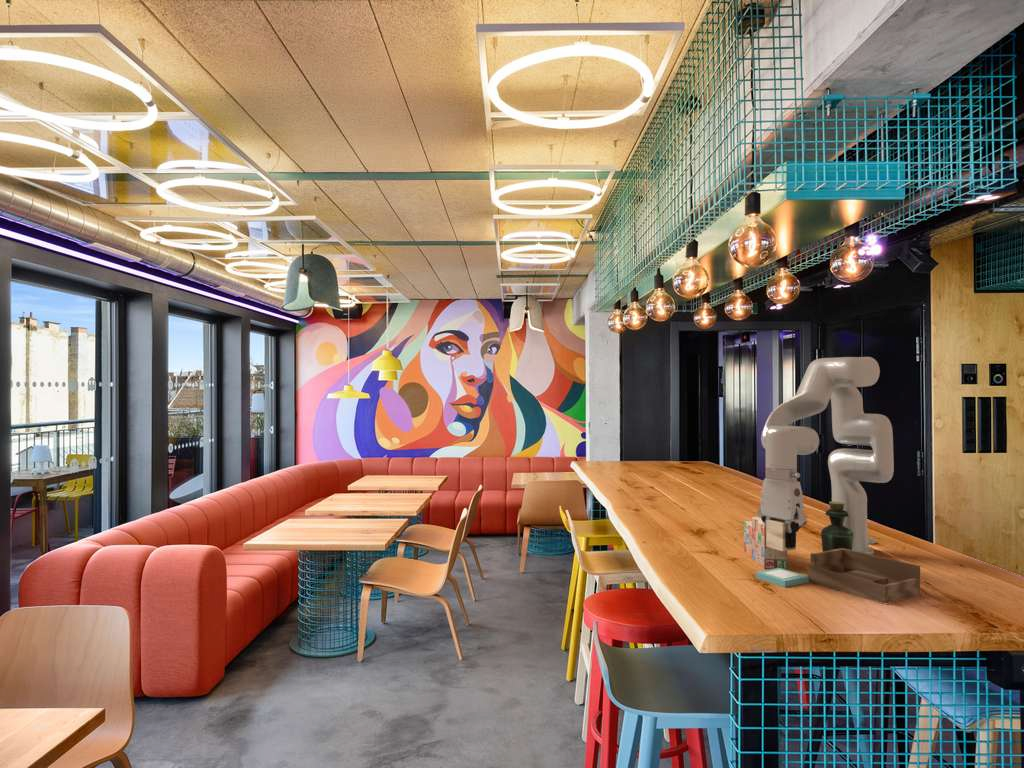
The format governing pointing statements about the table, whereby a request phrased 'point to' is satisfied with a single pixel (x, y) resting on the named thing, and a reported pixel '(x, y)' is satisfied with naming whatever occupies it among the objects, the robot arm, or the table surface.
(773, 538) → the beech block
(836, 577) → the brown wooden tray
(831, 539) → the potion bottle
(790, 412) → the robot arm
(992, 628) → the table surface
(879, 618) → the table surface
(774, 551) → the stack of blocks
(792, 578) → the teal picture frame
